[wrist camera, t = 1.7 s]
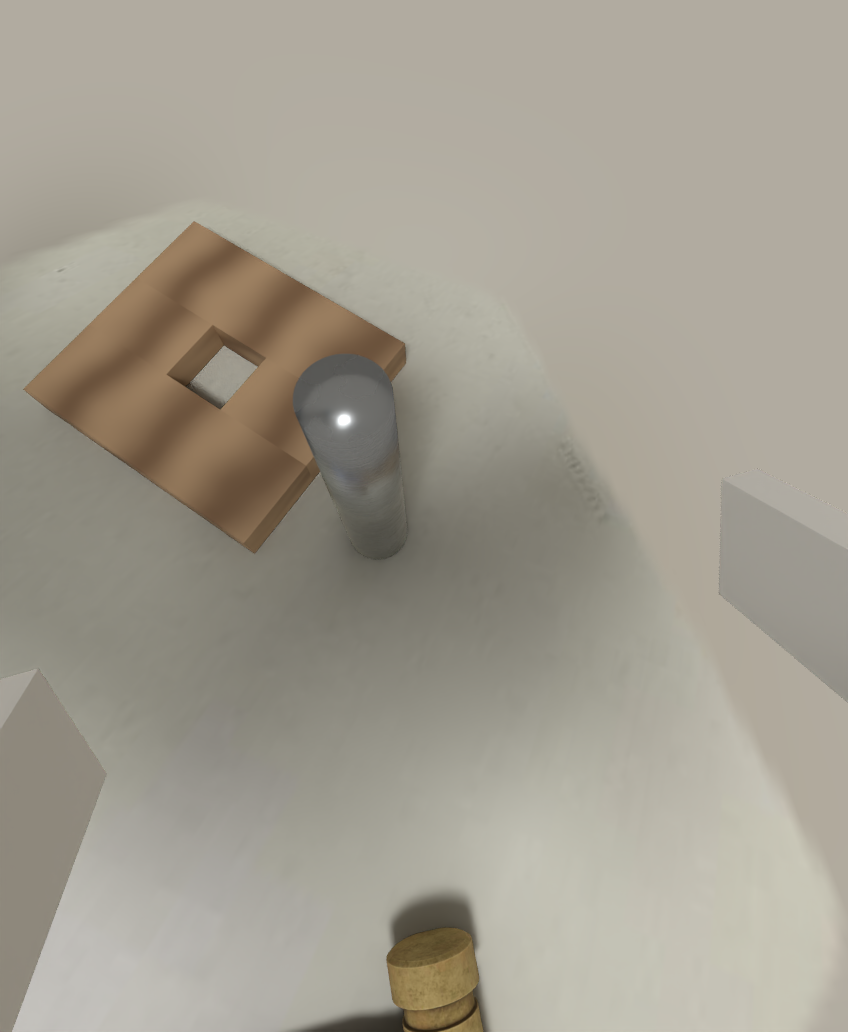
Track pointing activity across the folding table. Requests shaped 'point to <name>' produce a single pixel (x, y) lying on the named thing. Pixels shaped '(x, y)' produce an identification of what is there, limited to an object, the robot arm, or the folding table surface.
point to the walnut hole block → (181, 356)
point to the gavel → (435, 981)
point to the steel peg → (356, 448)
